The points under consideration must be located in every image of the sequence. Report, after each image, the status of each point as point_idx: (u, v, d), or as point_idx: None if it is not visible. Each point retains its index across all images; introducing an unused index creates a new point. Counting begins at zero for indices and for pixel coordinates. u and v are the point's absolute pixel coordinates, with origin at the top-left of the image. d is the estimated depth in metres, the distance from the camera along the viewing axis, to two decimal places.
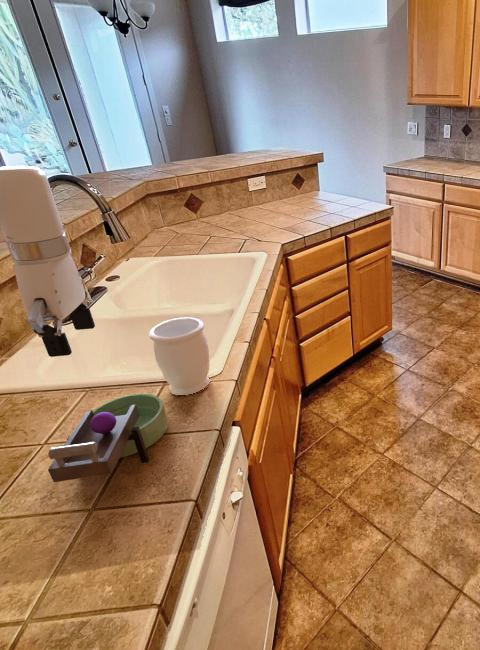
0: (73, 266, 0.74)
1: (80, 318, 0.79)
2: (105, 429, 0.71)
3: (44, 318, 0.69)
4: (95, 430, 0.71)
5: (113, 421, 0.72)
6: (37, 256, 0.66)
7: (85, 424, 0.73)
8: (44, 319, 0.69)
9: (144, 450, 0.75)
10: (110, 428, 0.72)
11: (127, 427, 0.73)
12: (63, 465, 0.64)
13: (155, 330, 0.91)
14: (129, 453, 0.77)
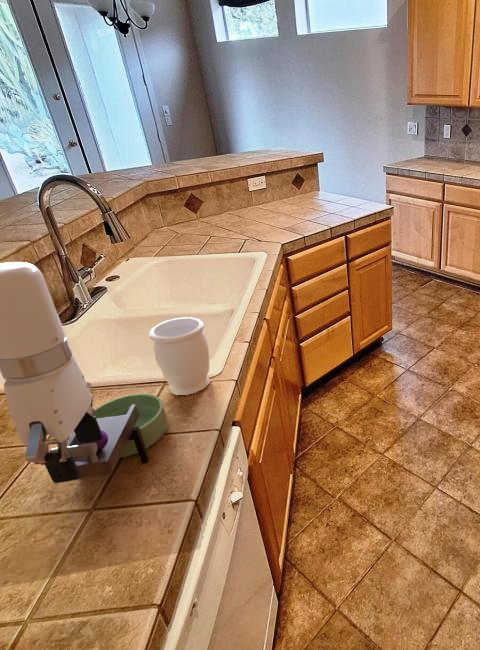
0: (76, 370, 0.61)
1: (85, 430, 0.66)
2: None
3: (45, 442, 0.57)
4: None
5: (107, 441, 0.70)
6: (32, 372, 0.53)
7: None
8: (45, 444, 0.57)
9: (144, 450, 0.75)
10: None
11: (127, 427, 0.73)
12: None
13: (155, 330, 0.91)
14: (129, 453, 0.77)
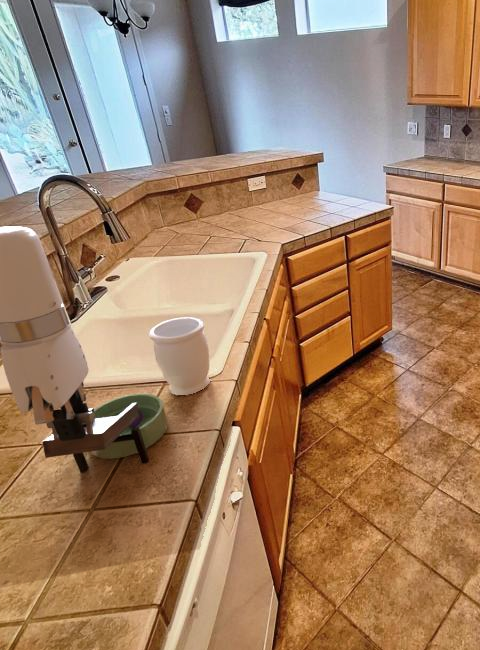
0: (73, 338, 0.61)
1: None
2: (134, 425, 0.83)
3: (48, 406, 0.59)
4: None
5: (140, 418, 0.84)
6: (28, 337, 0.53)
7: None
8: (49, 407, 0.59)
9: (144, 450, 0.75)
10: (138, 423, 0.84)
11: (126, 417, 0.72)
12: (58, 438, 0.63)
13: (155, 330, 0.91)
14: (129, 453, 0.77)
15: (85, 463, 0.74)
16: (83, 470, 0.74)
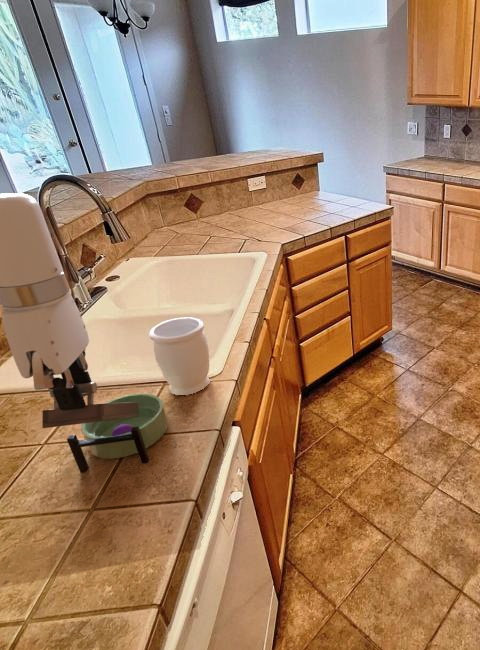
0: (74, 308, 0.62)
1: (77, 384, 0.65)
2: None
3: (49, 373, 0.60)
4: None
5: None
6: (29, 302, 0.54)
7: None
8: (49, 374, 0.60)
9: (144, 450, 0.75)
10: (131, 426, 0.80)
11: (126, 407, 0.73)
12: (58, 408, 0.64)
13: (155, 330, 0.91)
14: (129, 453, 0.77)
15: (85, 463, 0.74)
16: (83, 470, 0.74)
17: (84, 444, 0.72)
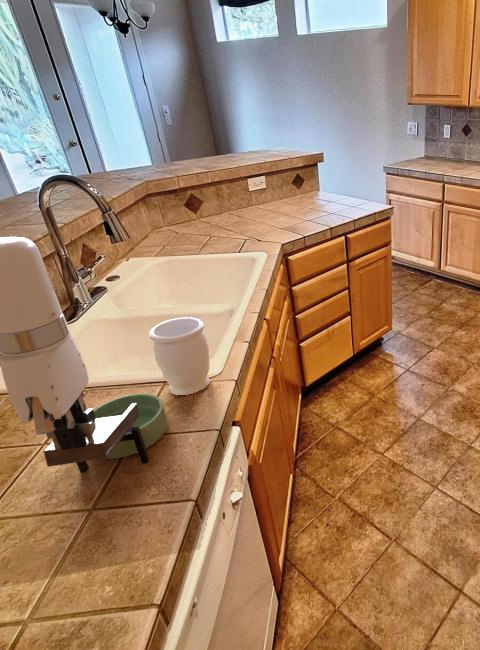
0: (73, 348, 0.61)
1: None
2: None
3: (49, 416, 0.59)
4: None
5: None
6: (28, 347, 0.53)
7: None
8: (50, 416, 0.59)
9: (144, 450, 0.75)
10: None
11: (126, 421, 0.72)
12: (59, 447, 0.63)
13: (155, 330, 0.91)
14: (129, 453, 0.77)
15: (85, 463, 0.74)
16: (83, 470, 0.74)
17: None
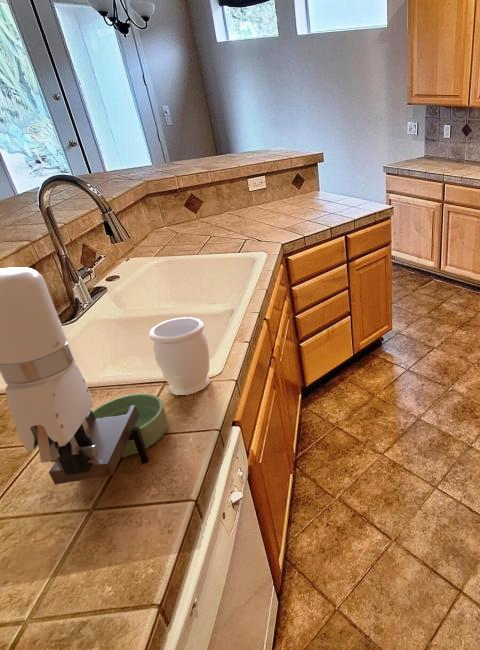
0: (77, 374, 0.61)
1: None
2: None
3: (54, 442, 0.59)
4: None
5: None
6: (33, 377, 0.54)
7: None
8: (54, 443, 0.59)
9: (144, 450, 0.75)
10: None
11: (127, 428, 0.73)
12: None
13: (155, 330, 0.91)
14: (129, 453, 0.77)
15: None
16: None
17: None
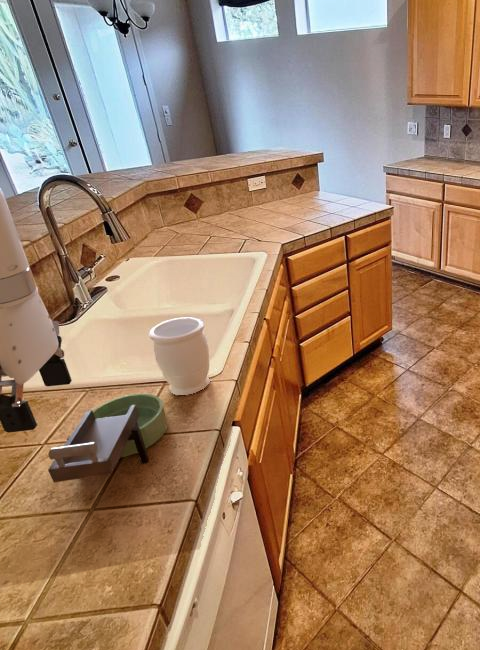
0: (41, 308, 0.55)
1: (52, 372, 0.60)
2: None
3: None
4: None
5: None
6: None
7: (85, 424, 0.73)
8: None
9: (144, 450, 0.75)
10: None
11: (127, 427, 0.73)
12: (63, 466, 0.64)
13: (155, 330, 0.91)
14: (129, 453, 0.77)
15: None
16: None
17: None
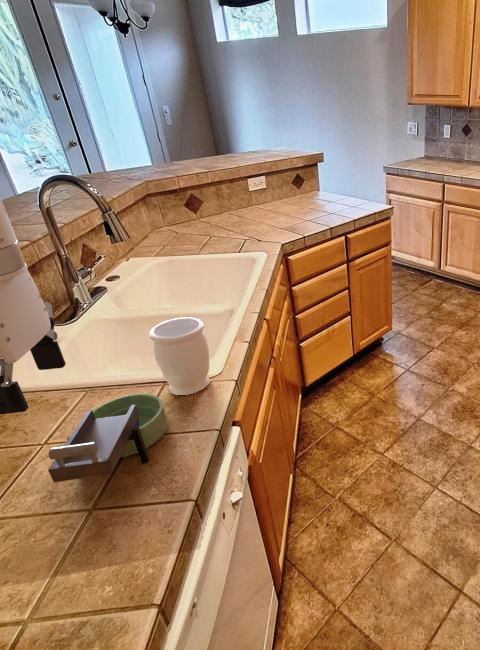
0: (31, 286, 0.53)
1: (45, 355, 0.58)
2: None
3: None
4: None
5: (138, 425, 0.82)
6: None
7: (85, 424, 0.73)
8: None
9: (144, 450, 0.75)
10: None
11: (127, 427, 0.73)
12: (63, 466, 0.64)
13: (155, 330, 0.91)
14: (129, 453, 0.77)
15: None
16: None
17: None
